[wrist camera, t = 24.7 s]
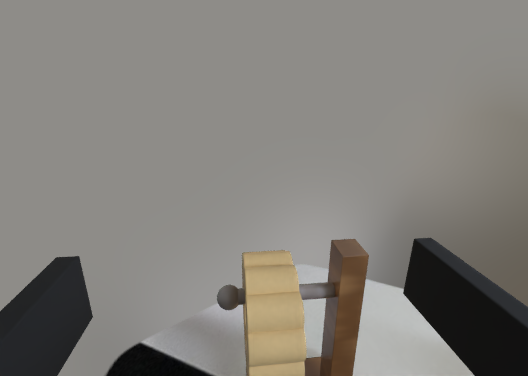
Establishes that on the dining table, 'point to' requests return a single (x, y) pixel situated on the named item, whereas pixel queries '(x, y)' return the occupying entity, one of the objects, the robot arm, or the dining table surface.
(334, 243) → the hook stand
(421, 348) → the dining table surface
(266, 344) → the yellow scalloped ring
